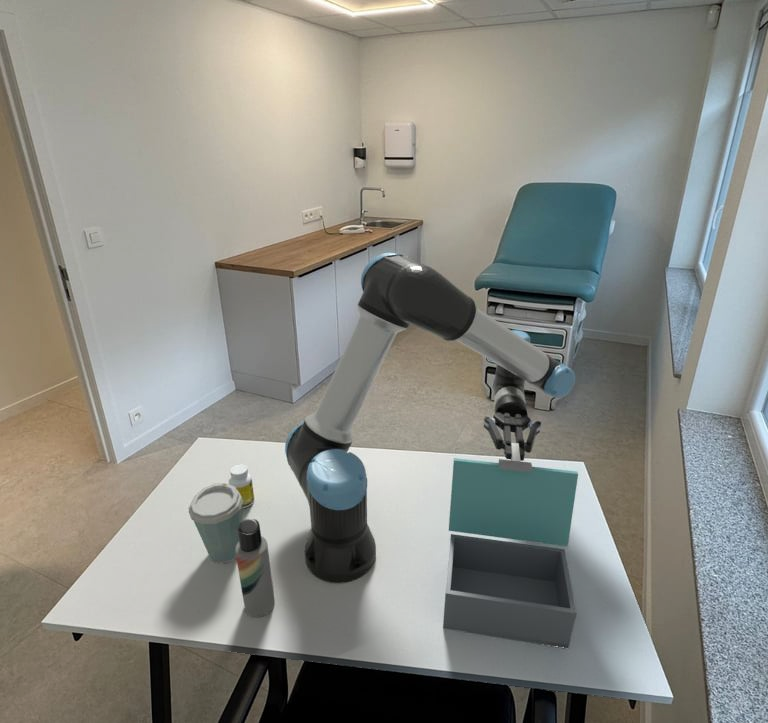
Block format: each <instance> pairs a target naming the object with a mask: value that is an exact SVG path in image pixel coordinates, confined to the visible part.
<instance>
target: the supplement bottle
mask: <svg viewBox="0 0 768 723" xmlns="http://www.w3.org/2000/svg"><path fill="white" fill-rule="evenodd" d="M228 484H229V485H232V486H235V488H236V490H238V492H239V493H240V495H241V497H242V500H243V502H242V510H243V509H245V508H249V507H251V506H252V505H253V504H254V503H255V493H254V487H253V479H252V475H251V474H250V473H249V470H248V466H247V465H246V464H237V465H234V466H232V467H231V468H230V475H229V477H228Z"/></svg>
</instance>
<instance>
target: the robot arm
mask: <svg viewBox="0 0 768 723" xmlns="http://www.w3.org/2000/svg"><path fill="white" fill-rule="evenodd" d="M360 285H361V289H362V292H363V293H362V295H361V297H360V299H359V301H358V303H357V310H358V312H359V314H360V315H359V318H358V320H357V323H356V325H355V327H354V330H353V331H352V334H351V336H350V338H349V341H348V342H347V344H346V347H345V349H344V351H343V353H342V355H341V357H340V360H338V363H337V366H336V368H335V370H334V372H333V375H332V377H331V379H330V381H329V383H328V385H327V388H326V390H325V392H324V394H323V397H322V398H321V400H320V402H319V405H318V407H317V410H316V411H315V412H314V413H312V414H311V413H310V414H309V415H307V416H306V417H305V419H304V421H302V422H300V424H299V425H296V426H295V427H294V428H292V430H290V432H289V434H288V436H286V440H285V444H284V445H285V446H284V452H285V456H286V459H287V463H288V466H289V468H290V470H291V471H292V473H293V474H294V476H295V479H296V480H297V482H298V485H299V486H300V487H301V490H302V492H303V494H304V496H305V498H306V500H307V502H308V506H309V507H308V508H309V515H310V527H311V528H310V529H309V530H310V531H309V534H308V536H307V540H306V542H305V545H304V546H305V547H304V559H305V564H306V566H307V569H308V571H310V573H311V574H312V575H313V576H314V577H315V578H318V579H320V580H322V581H324V582H326V583H327V582H328V583H332V584H333V583H334V584H344V583H349V582H352V581H355V580H357V579H359V578H361V577H363V576H364V575H366V574H367V573H368V572H369V571H370V570H371V568H372V567H373V565H374V563H375V561H376V556H377V548H376V547H377V546H376V545H377V544H376V540H375V538H374V535H373V533H372V531H371V529H370V527H369V525H368V477H367V471H366V468H365V464H364V463H363V461H362V459H361V458H360V457H359V456H358V455H356V454H355V453H353V452H350V451H349V449H350V448H351V445H352V444H353V442H354V434H353V432H352V428H353V426H354V423H355V421H356V419H357V417H358V415H359V413H360V411H361V409H362V407H363V405H364V403H365V400H366V399H367V396H368V394H369V392H370V390H371V388H372V386H373V384H374V382H375V380H376V377H377V375H378V374H379V371H380V369H381V367H382V365H383V363H384V361H385V359H386V357H387V355H388V352H389V351H390V349H391V347H392V345H393V342H394V340H395V338H396V336H397V334H398V333H400V332H403V331H405V330H408V328H409V326H413V327H416V328H419V329H421V330H423V331H426V332H427V333H430V334H433V335H435V336H437V337H439V338H440V339H443V340H444V341H447V342H450V343H451V342H458V343H460V344H461V345H463V346H465V347H467V348H469V349H471V351H473V352H475V353H477V354H479V355H480V356H482V357H483V358H485V359H488V360H489V361H491V362H493V363H495V364H496V366H495V367H496V369H495V374H494V375H495V376H494V378H493V384H492V385H493V386H492V388H493V394H494V397H493V398H494V415H493V417H492V418H491V417H490V416H486V415H485V416H484V419H483V428H484V429H485V430H486V431H488V433H489V436H490V438H491V441H492V443H493V444H494V447H495V449H496V450H499V451H500V450H503V453H504V456H505V460H512V461H521V462H524V461H525V455H526V453H528V454H530V453H531V452H532V449H533V446H534V443H535V439H536V436H537V435H538V434H540V432H541V427H542V422H541V421H539V420H537V421H535V422H534V421H532V420H531V417H529V415H528V408H527V402H526V397H525V383H526V382H527V383H528V384H530V385H532V386H534V387H535V388H537V389H539V390H541V391H542V392H544V394H546V395H549V396H550V397H552V398H556V399H560V398H564V397H565V396H567V395H568V394H569V393H570V392H571V391H572V389H573V388H574V386H575V383H576V373H575V372H574V370H573V369H572V368H570V367H568V366H567V365H566V364H565V363H562V362H560V361H558V360H556V359H555V358H553V357H552V356H550V355H548V354H547V353H546V352H544V351H543V350H541V349H539V348H538V347H537V346H535V345H534V344H532V343H531V336H530V335H529V334H528V333H527V332H525V331H522V330H513V329H512V330H511V329H509V327H506V326H504V325H503V324H502V323H500V322H499V321H497V320H495V319H494V318H493V317H491V316H490V315H488V314H486V313H485V312H484V311H482V310H481V309H479V308H478V306H477V304H476V300H474V299H473V298H472V297H471V296H469V295H468V294H466V293H465V292H463V290H461V289H460V288H459V287H458V286H456V285H454V283H452V282H451V281H450V280H448V279H447V278H446V277H445V276H444V275H443V274H442V273H439V272H438V271H437V270H436V269H434V268H432V267H431V266H429V265H425V264H424V263H421V262H419V261H418V260H415V259H413V258H410V257H409V256H408V255H404V254H401V253H396V252H385V253H380V254H379V255H377V256H375V257H373V258H372V259H371V260H370V261H369V262H368V263H367V264H366V265H365V266H364V268H363V270H362V273H361V279H360ZM528 428H529V433H528V436H527V439H526V442H525V439H524V433H523V431H525V430H526V429H528ZM499 430H502V434H503V435H502V434H501V433H500V431H499ZM511 433H514V438H515V439H514V440H515V442H512V434H511ZM502 436H503V437H502ZM348 451H349V452H348Z"/></svg>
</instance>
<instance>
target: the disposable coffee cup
mask: <svg viewBox="0 0 768 723" xmlns="http://www.w3.org/2000/svg"><path fill="white" fill-rule="evenodd" d="M242 502H243V500H242V497H241V495H240V493H239V492H238V490H236V488H235V486H232V485H229V483H223V482H222V483H213V484H210V485H208V486H205V487H203V488H202V489H201V490H200V491H199V492H197V493H196V494H195V495H194V496H193V498H192V500H191V502H190V505H189V506H188V513H189V516H190V519H191V520H192V521H193V522H194V526H195V527H196V529H197V531H198V534H199V536H200V538H201V540H202V542H203V545H204V547H205V549H206V552H207V554H208V556H209V558H210V560H212V562H215V563H216V564H226V563H229V562H231V561H234V560H235V559H236V552H235V548H236V545H237V543H238V542H239V537H238V530H237V528H238V526H239V525H240V523H241V522H242V521H243V520H242V519H243V518H242V510H243V509H242Z"/></svg>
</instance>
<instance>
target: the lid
mask: <svg viewBox="0 0 768 723" xmlns="http://www.w3.org/2000/svg"><path fill="white" fill-rule="evenodd" d="M452 464H453V466H452V468H453V469H452V477H451V479H452V480H451V494H450V506H449V520H448V532H455V533H464V534H471V535H478V536H485V537H493V538H501V539H508V540H514V541H515V540H517V541H523V542H530V543H531V542H532V543H537V544H545V545H554V546H562V547H569V540H570V534H571V527H572V519H573V514H574V506H575V499H576V491H577V487H578V486H577V485H578V479H579V472H578V471H576V470H568V469H557V468H550V467H538V466H532V465H533V464H532V462H528V461H512V460H511V459H503V458H502V459H501V458H499V459H498V462H493V461H485V460H484V461H483V460H474V459H466V458H457V457H456V458H455V457H454V458H453V463H452Z"/></svg>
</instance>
